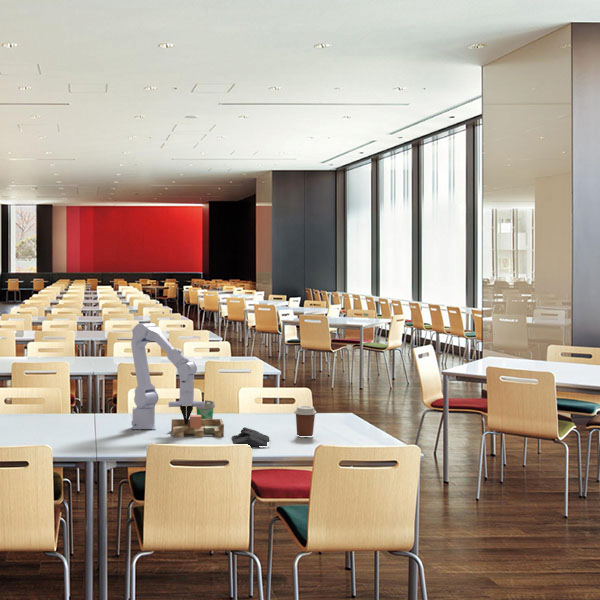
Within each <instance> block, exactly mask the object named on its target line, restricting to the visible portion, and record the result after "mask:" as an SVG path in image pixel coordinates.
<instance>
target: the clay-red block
mask: <svg viewBox="0 0 600 600" xmlns="http://www.w3.org/2000/svg"><path fill="white" fill-rule="evenodd" d="M189 419H190V428H201V419H202V416H201V415H197V414H190V417H189Z"/></svg>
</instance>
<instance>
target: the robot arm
mask: <svg viewBox="0 0 600 600" xmlns="http://www.w3.org/2000/svg"><path fill="white" fill-rule="evenodd" d="M131 331H132V332H131V333H132V338H131V342H130V345H131V346H130V347H131V351H132V352H131V353H132V359H133V364H134V369H135V376H136V381H137V382H136V383H137V386H136V388H135V389H134V398H133V400H134V404H135V405H136V407H132V418H131V419H132V420H131V428H132V429H152V430H156V423H155V421H156V417H155V416H156V405H157V403H158V402H159V393H158V392H157V391H156V388H155V385H153V384H152V382H151V376H150V369H149V364H148V363H149V362H148V357H147V352H146V346H147V344H148V343H149V342H150V341H153V342H155V343H157V345H158V346H159V347H160V348H161V349H162V350H163V351H164V352H165V353H166V354H167V359H168V360H169V361H170V363H172V365H173V366H174V367H175V368H176V372H177V375H178V376H179V400H177V401H168V408H179V410H180V411H181V414H182V416H183V417H182V419H184V424H185V425H188V420H189V419H190V415H192V413H193V411H194V407H195V408H196V407H204V403H205V401H197V400H196V401H195V400H194V398H195V397H194V396H195V394H194V393H195V374H196V373H197V370H198V368H197V364H196V363H195V362H194V361H192V360H190V359H189V358H188V357H186V356H185V354H184V353H183V350H182V349H180V348H177V347H173V345H172V344H171V342H170V341H169V340H168V339H167V338H166V337H165V335H164V334H163V333H162V330H161V328H160V327H158V325H157V324H156V323H154V322H147V323H146V322H145V323H137V324H136V325H135V326H134V327H133V328H132V329H131ZM132 429H131V430H132Z"/></svg>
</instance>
